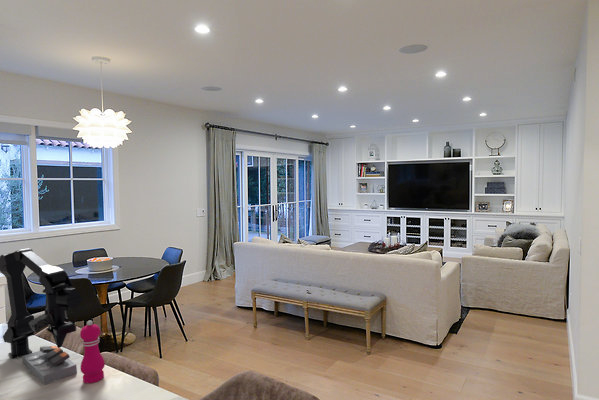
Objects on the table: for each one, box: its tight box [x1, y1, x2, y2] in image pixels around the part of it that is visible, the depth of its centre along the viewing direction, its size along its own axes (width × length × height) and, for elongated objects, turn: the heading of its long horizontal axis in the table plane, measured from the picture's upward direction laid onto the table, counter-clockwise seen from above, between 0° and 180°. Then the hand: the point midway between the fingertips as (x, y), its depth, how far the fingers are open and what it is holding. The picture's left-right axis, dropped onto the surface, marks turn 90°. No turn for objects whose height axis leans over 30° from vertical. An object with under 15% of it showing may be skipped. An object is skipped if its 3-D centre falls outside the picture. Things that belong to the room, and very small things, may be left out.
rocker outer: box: [50, 351, 71, 366], centre depth 141 cm, size 4×5×2 cm
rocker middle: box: [44, 347, 64, 361], centre depth 144 cm, size 4×5×2 cm
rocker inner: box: [39, 345, 58, 353], centre depth 149 cm, size 4×5×2 cm
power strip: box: [21, 350, 78, 386], centre depth 143 cm, size 24×10×3 cm, turn 49°
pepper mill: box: [79, 320, 106, 384], centre depth 134 cm, size 7×7×20 cm
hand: (59, 347), depth 146 cm, fingers closed
